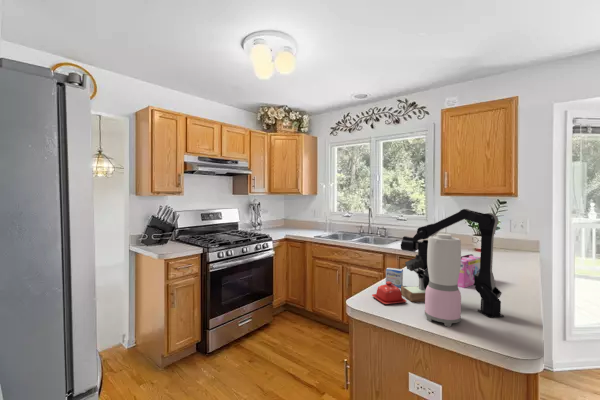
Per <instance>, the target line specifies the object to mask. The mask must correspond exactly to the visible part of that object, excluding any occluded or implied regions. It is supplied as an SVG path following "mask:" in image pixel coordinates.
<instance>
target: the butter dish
mask: <svg viewBox="0 0 600 400" xmlns="http://www.w3.org/2000/svg"><path fill="white" fill-rule="evenodd" d="M391 284H392V282H390V281H388V282H386V281H385V284H381V285H379V286H378V287H377V288H376V293H375V294H374V293H373V294H372V295H371V296H372V297H373V298H375V299H376V300H378V301H379V302H380V303H382V304H385V305H390V304H397V303H398V304H399V303H407V299H406V298H404V297H403V296H402V294H401V288H399V287H396V286H394V285H391Z"/></svg>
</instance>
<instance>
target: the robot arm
mask: <svg viewBox="0 0 600 400" xmlns="http://www.w3.org/2000/svg"><path fill="white" fill-rule="evenodd" d="M464 220H467V221H470V222H472V223H476V224H478V229H479V233H480V235H481V237H480V256H479V257H480V272H479V273H477V274H475V275H474V281H475V282H474V285H473V286H474V288H475V291H476V292H477V293H478V294H479V296H480V298H481V299H480V309H477V312H479V313H480V314H482V315H484V316H486V317H488V318H503V317H505V315H503V314H502V312H501V311H502V310H501V308H502V302H501V300H500V298H501V296H502V295H503V292H502V291H501V290H500V289H499V288H498V287H497V286H496V280H495V277H494V274H493V257H494V236H495V233H496V230H497V227H498V223H499V218H498V215H496V214H494V213H492V212H486V213H483V212H479V211H475V210H470V209H468V208H463V209H460V210H459V211H457V212H455V213H453V214H451V215H449V216H447V217H444V218H442V219H440V220H438V221H436V222H434V223H430V224H425V225H423V226H422V225H421V226H419V227H418V228H417V230H416V234H415V235H414V236H413V237H411V236H407V235H404V236H402V240H401V243H400V250H401V251H405V252H410V253H412V252H413V253H416V251H417V254H416V255H415V258H412V259H410V260H407V261H405V263H404V264H405V266H406V269H407V270H409V271H410V272H415V273H416V275H417V277H418V279H419V278H423V282H424V288H425V289H426V288H427V286H428V284H429V273H428V265H427V249H428V238H429V237H431V236H436V235H437V234H439V232H440V231H442V230H443V229H446V228H449V227H451V226H452V225H455V224H457V223H460V222H462V221H464Z"/></svg>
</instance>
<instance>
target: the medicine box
mask: <svg viewBox="0 0 600 400" xmlns="http://www.w3.org/2000/svg"><path fill="white" fill-rule="evenodd" d="M388 281H390V282H392V284H391V285H394V286H396V287H398V288H399V289H401V286H403V282H404V269H401V268H395V267H387V268H386V269H385V283H386V282H388ZM403 287H404V286H403Z"/></svg>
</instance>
